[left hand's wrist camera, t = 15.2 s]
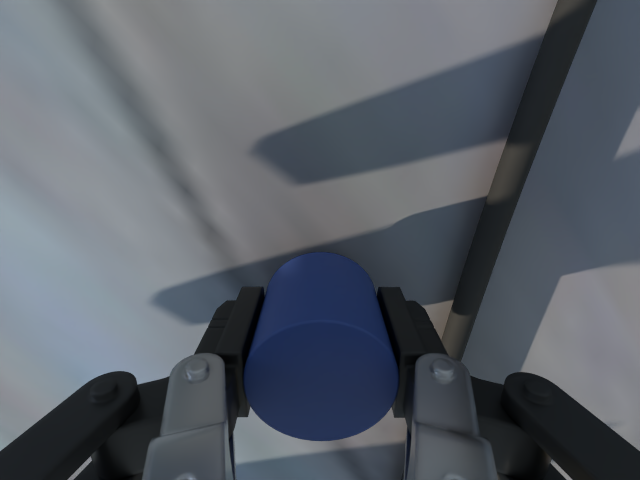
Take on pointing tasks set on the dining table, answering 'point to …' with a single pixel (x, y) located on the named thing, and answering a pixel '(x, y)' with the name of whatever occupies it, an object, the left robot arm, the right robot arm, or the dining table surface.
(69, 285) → the dining table surface
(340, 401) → the can
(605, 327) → the dining table surface
